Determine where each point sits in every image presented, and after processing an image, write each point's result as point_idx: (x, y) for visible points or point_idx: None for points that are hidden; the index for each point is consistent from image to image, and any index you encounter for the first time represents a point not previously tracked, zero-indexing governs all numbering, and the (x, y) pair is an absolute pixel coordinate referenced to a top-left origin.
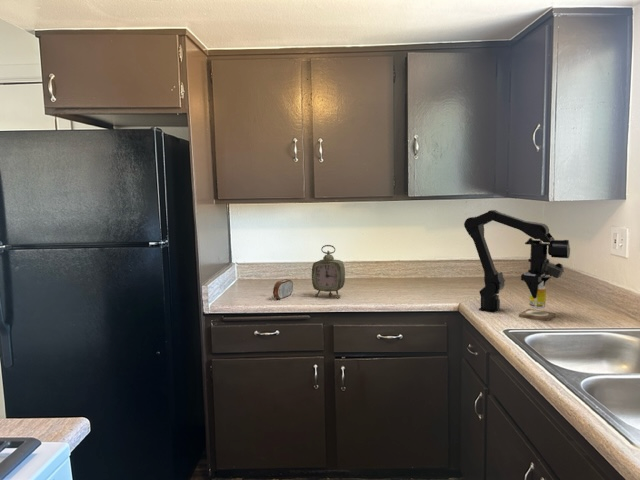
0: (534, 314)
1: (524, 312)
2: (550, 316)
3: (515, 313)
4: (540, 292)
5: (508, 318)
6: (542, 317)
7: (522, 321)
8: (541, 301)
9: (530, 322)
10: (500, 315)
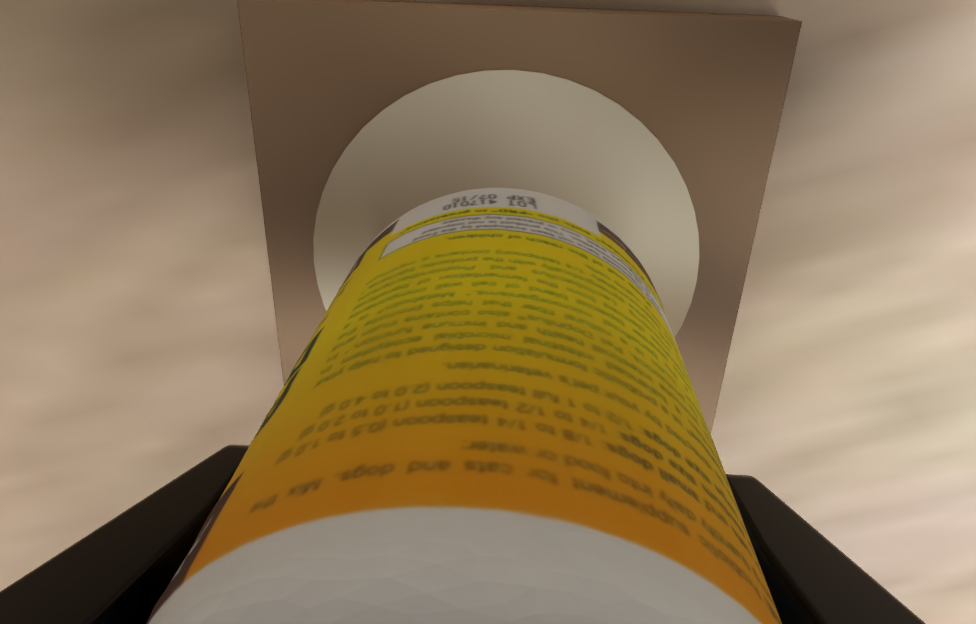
0: None
1: None
2: (544, 10)
3: None
4: (724, 514)
5: (855, 512)
6: (768, 107)
7: (954, 334)
8: (637, 296)
9: (971, 223)
10: None
